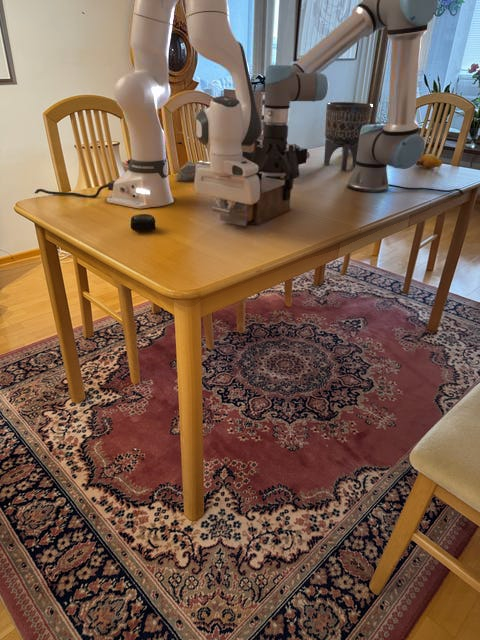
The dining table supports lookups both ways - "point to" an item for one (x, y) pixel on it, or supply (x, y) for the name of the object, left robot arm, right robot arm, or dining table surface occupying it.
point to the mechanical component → (277, 161)
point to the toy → (429, 161)
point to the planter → (345, 128)
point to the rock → (187, 172)
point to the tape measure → (142, 222)
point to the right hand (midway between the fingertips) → (272, 196)
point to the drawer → (236, 213)
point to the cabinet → (270, 200)
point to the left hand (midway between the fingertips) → (225, 214)
